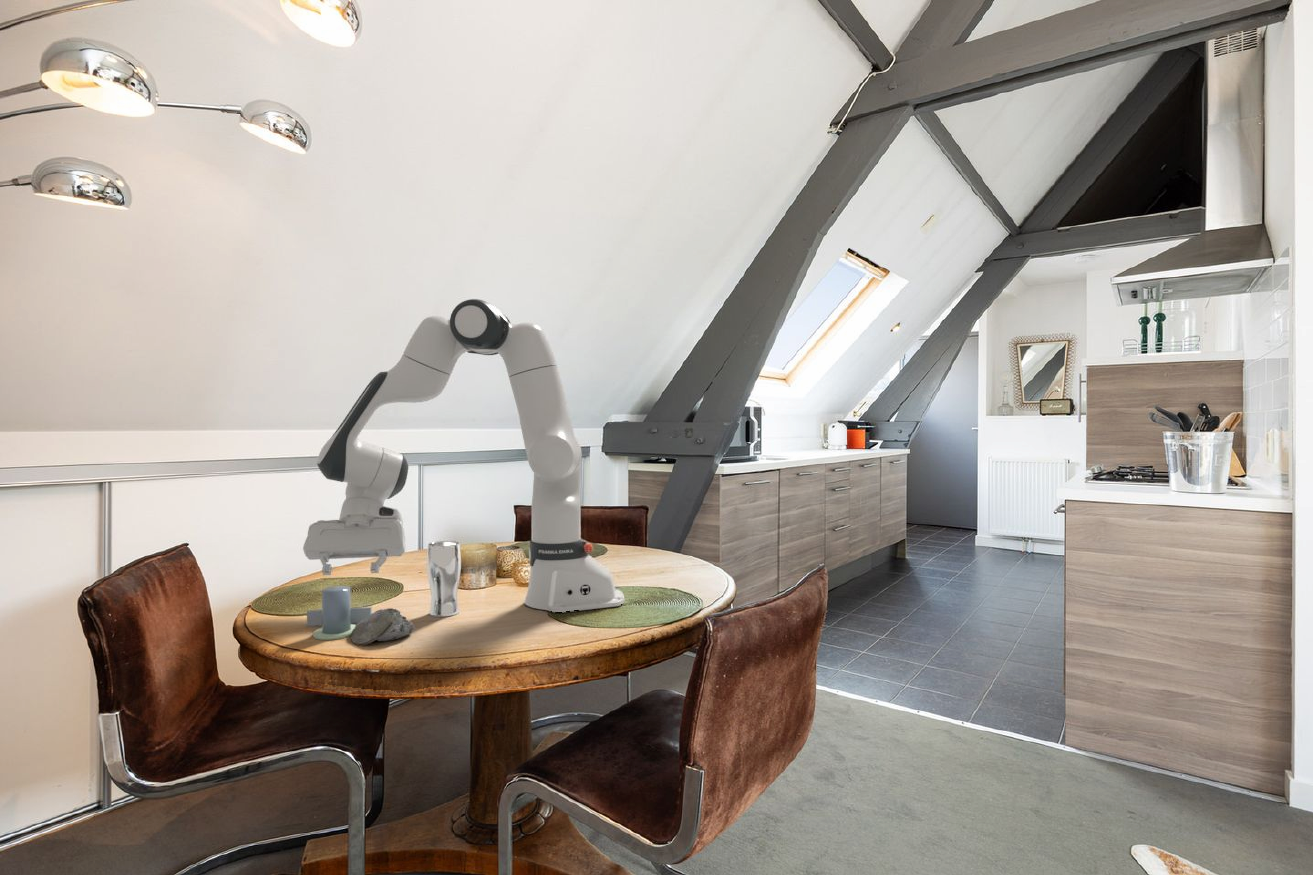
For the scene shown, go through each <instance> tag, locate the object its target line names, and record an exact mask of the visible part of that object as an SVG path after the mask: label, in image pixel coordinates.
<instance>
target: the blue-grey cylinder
mask: <svg viewBox="0 0 1313 875" xmlns="http://www.w3.org/2000/svg"><path fill="white" fill-rule="evenodd" d="M351 594H352V593H351V586H348V585H336V586H328V587H325V588H323V589H322V590H321V609H322V625H321V628H322V633H324V634H339V633H344V632H347V631H349V630H350V629H351V608H352V606H351V605H352V604H351V603H352V602H351V601H352V600H351Z"/></svg>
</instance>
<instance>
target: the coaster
mask: <svg viewBox="0 0 1313 875" xmlns="http://www.w3.org/2000/svg"><path fill="white" fill-rule="evenodd" d="M356 625H357V624H351V629H350V630H349V631H347V632H344V633H339V634H324V633H322V627H320V628H319V627H318V628H317V629H315V630H314V631H312V632H313V633H312V638H313V639H315V640H319V641H334V640H341V639H346V638H349V637H350V638H351V634H352V631H353V629H354V628H355V626H356Z"/></svg>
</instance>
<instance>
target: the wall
mask: <svg viewBox="0 0 1313 875" xmlns="http://www.w3.org/2000/svg"><path fill="white" fill-rule="evenodd" d="M372 610H373V608H372V606H359V607H358V606H357V607H351V624H353V625H355V624H357V623H359V622H360V621H362V620H363V619H365V618H367V617H370V616H371V614H372V613H373V612H372ZM306 626H307V627H317V626H322V608H321V609H320V608H319V609H308V610H307V611H306Z"/></svg>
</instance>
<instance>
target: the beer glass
mask: <svg viewBox="0 0 1313 875" xmlns="http://www.w3.org/2000/svg"><path fill="white" fill-rule="evenodd" d="M461 554H462V553H461V542H460V541H456V540H440V541H439V540H437V541H432V542H429V543H428V544H427V553H426V572H427V578H428V583H429V588H430V594H431V595H430V597H431V599H430V602H431V603H430V606H429V616H431V617H434V618H445V617H452V616H456V615H458V614H459V612H460V607H459V601H458V589H459V583H460V577H461V570H462V556H461Z"/></svg>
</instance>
